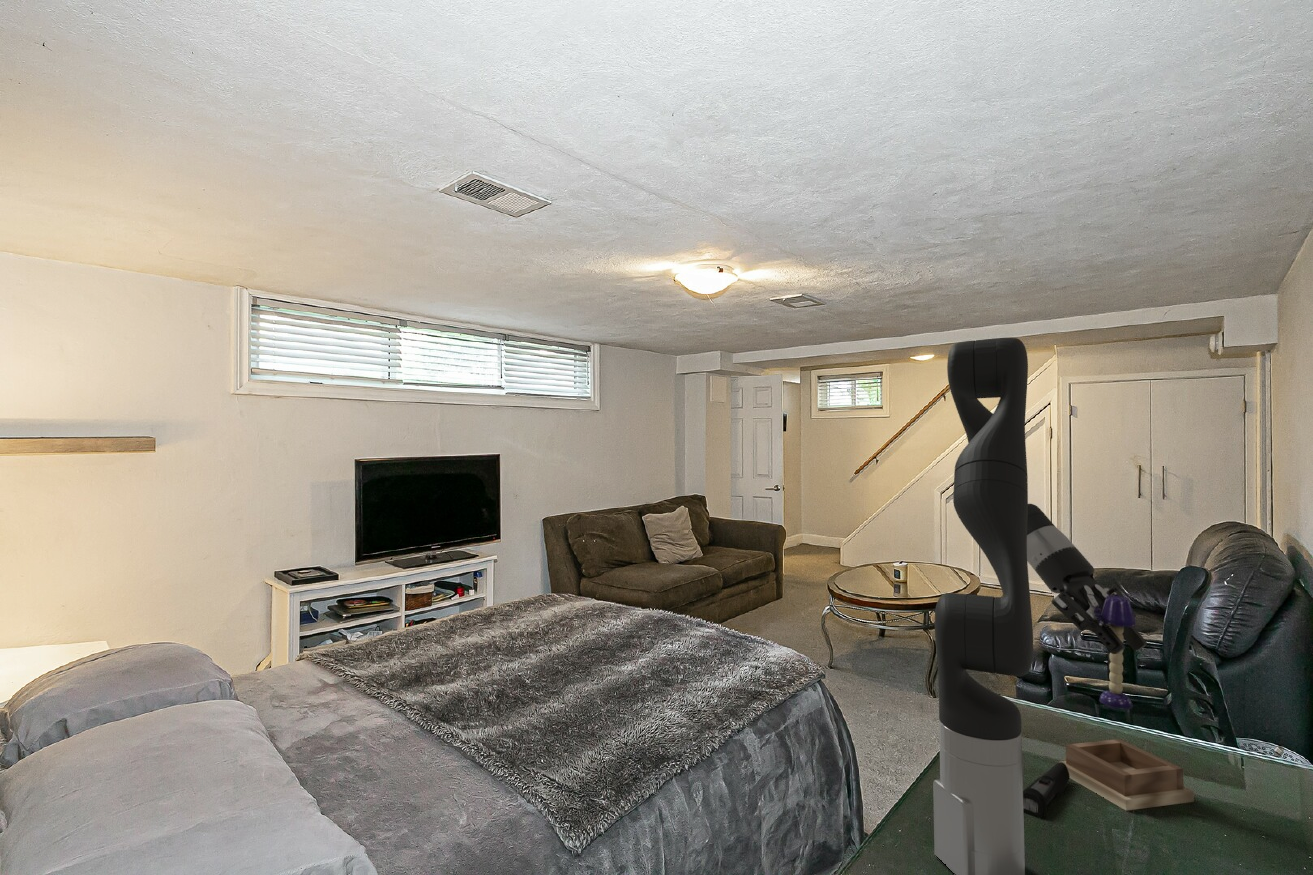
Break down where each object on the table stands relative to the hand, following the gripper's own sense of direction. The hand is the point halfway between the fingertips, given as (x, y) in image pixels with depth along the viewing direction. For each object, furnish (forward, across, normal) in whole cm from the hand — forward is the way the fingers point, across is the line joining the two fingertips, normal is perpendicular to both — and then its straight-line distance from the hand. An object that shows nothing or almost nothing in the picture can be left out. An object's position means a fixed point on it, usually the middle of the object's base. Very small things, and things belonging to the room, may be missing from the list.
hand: (1130, 649), depth 98 cm
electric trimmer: (+13, -14, +18) cm, 26 cm away
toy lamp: (+5, 0, +8) cm, 9 cm away
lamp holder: (+14, 0, +16) cm, 21 cm away
